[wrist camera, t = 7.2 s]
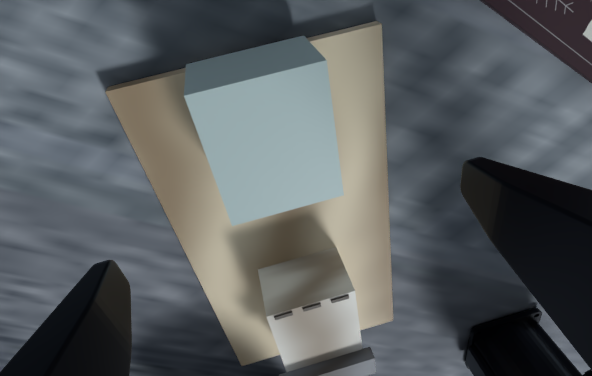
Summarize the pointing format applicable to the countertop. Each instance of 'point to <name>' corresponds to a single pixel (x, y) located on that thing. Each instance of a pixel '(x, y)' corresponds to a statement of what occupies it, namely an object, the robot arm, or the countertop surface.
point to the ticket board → (283, 220)
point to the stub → (266, 127)
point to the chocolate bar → (554, 27)
